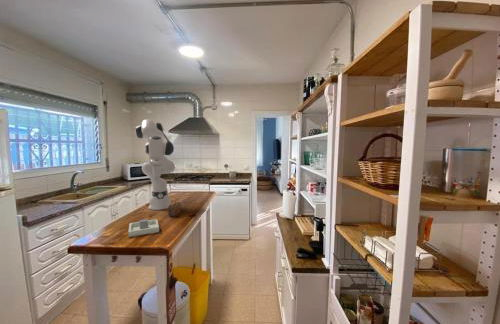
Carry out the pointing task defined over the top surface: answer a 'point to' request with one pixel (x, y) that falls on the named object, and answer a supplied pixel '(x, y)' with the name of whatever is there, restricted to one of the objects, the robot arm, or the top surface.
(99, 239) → the top surface
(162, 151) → the robot arm
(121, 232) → the top surface
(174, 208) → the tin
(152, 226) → the dish
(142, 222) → the matte grey cube
